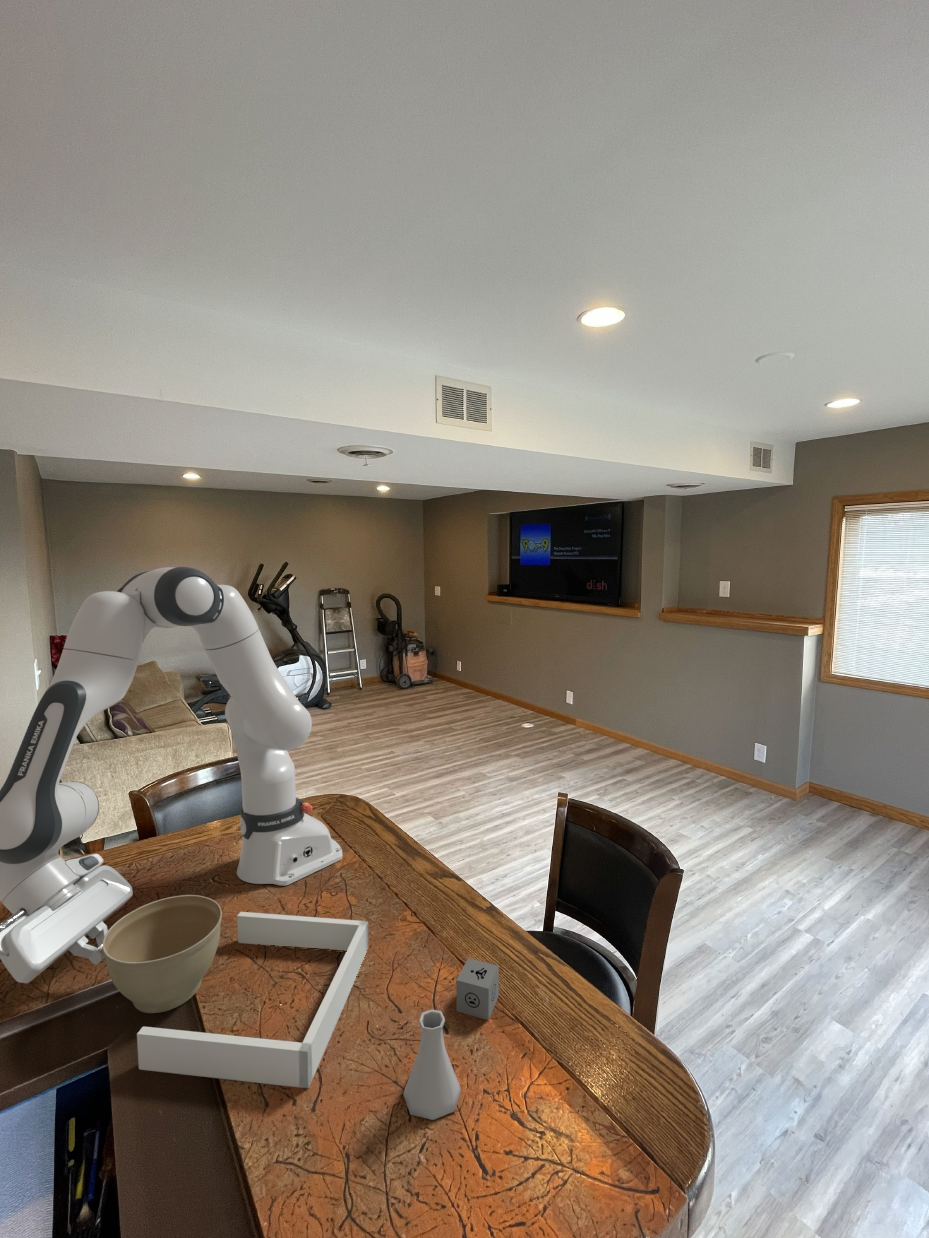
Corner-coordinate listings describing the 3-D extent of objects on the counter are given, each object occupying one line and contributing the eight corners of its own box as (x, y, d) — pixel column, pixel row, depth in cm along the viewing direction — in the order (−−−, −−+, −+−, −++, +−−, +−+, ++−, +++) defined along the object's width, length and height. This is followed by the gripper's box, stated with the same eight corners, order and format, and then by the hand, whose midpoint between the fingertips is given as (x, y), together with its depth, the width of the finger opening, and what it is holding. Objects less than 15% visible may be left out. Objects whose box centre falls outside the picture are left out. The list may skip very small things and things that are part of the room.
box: (138, 1069, 73) (136, 1033, 73) (241, 938, 100) (240, 911, 99) (308, 1088, 71) (307, 1051, 70) (368, 948, 97) (368, 921, 96)
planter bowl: (92, 993, 87) (88, 926, 86) (199, 942, 98) (197, 883, 98) (126, 1054, 76) (122, 978, 75) (242, 989, 88) (239, 923, 87)
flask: (403, 1070, 73) (403, 998, 73) (459, 1066, 74) (458, 995, 73) (402, 1124, 66) (401, 1045, 65) (463, 1119, 67) (463, 1041, 66)
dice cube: (488, 1020, 82) (488, 988, 81) (456, 1011, 83) (456, 979, 83) (498, 996, 86) (498, 965, 86) (468, 988, 88) (468, 958, 87)
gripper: (-6, 921, 78) (63, 993, 77) (105, 848, 98) (160, 905, 97) (-32, 949, 78) (36, 1020, 78) (84, 871, 99) (138, 928, 98)
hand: (106, 956), depth 88 cm, fingers closed
